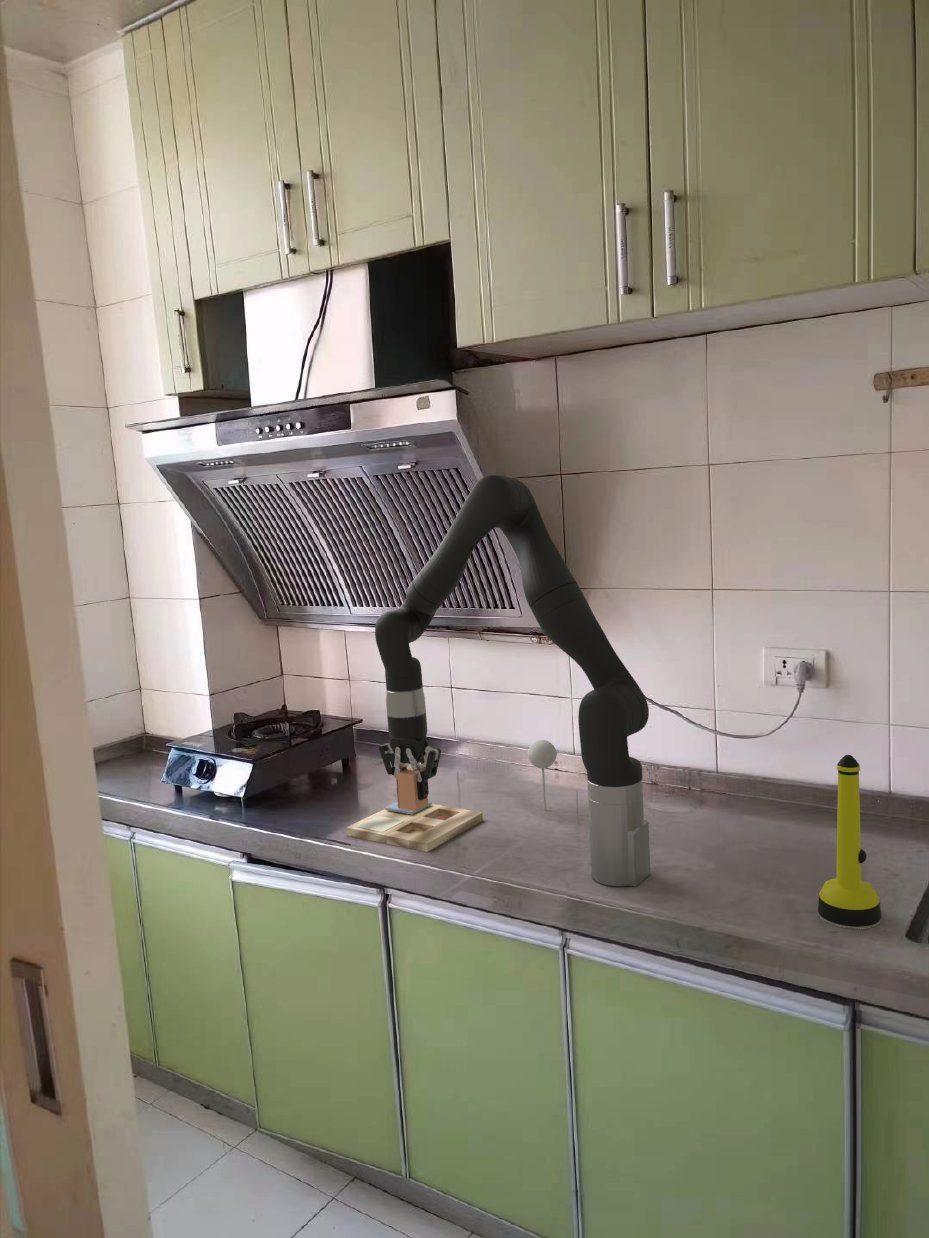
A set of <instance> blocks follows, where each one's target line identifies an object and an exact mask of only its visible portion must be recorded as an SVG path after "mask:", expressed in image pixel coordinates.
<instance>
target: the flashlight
mask: <svg viewBox="0 0 929 1238" xmlns="http://www.w3.org/2000/svg"><path fill="white" fill-rule="evenodd" d="M836 770H837V809H836V810H837V811H836V812H837V816H836V817H837V819H836V822H837V823H836V824H837V825H836V877H835V878H832V879H828V880H826V881H825V882H824V884H822V885H823V886H822V887H821V889H820V891H819V894H818V902H817V916H818V915H819V916H820V917H819V916H818V917H819V919H820V918H821V920H822V919H823V920H825V921H826V922H828V923H830V924H829V925H831V924H832V925H831V926H833V925H834V927H836V926H841V927H845V928H857V929H858V928H859V929H858V930H861V929H860V928H869V927H873V928H875V927H877V926H879V925H880V924H881V923H882V913H881V901H880V900H881V899H880V898H879V895H878V893H877V891H876V890H875V888H874V886H873V885H871V883H869V882H867V881H865V880H862V864H863V863H865V862H866V861H867V857H868V856H867V853H866V851H865V850H864V849H862V846H861V843H862V842H861V841H862V839H861V837H862V835H861V803H860V802H861V801H860V800H861V799H860V797H861V796H860V771H861V766H860V763H859V762H858V760H857V759H856V758H855V757H854V756H852V754H845V755H844V756H843V757H841V759H839V761H838V763H837V765H836ZM823 920H822V921H823ZM825 921H824V922H825ZM826 922H825V923H826ZM880 922H881V923H880ZM828 923H827V924H828ZM878 924H879V925H878ZM874 926H875V927H874ZM845 928H844V929H845ZM869 929H870V928H869Z"/></svg>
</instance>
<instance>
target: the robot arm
mask: <svg viewBox="0 0 929 1238" xmlns="http://www.w3.org/2000/svg"><path fill="white" fill-rule="evenodd" d="M495 528H498V529H500V530H501V532H502V533H503V535H504V537H506V539H507V541H508V542H509V543H508V544H510V546H511V547H512V549H513V551H514V553H515V555H516V557H517V560H518V563H519V567H520V574H521V581H522V587H523V594H524V597H525V600H526V602H527V605H528V607H529V608H530V610H531V613H532V614H533V616H534V619H535V620H536V622H537V623H538V626H539V627H540V629H541V631H542V632H543V633H544V634H545V635H546V636H547V638H548V639H549V640H550V642H552V643H553V644H554V645H555V646H556V647H558V648H559V649H560V650H561V651H562V652H563V653H565V654H566V655H567V656H568V657H570V658H571V659H572V660H573V661H575V663H576V664H577V665H578V666H579V668H581V670H582V671H583V672H584V674H585V675H586V678H587V680H588V681H589V683H590V684H591V686H592V688H593V690H591V691H589V692H587V693H586V694H585V695H584V696H583V697H582V699H581V701H580V704H579V706H578V717H577V719H578V733H579V735H578V736H579V743H580V745H579V746H580V755H581V760H582V761H581V762H582V763H583V766H584V768H585V770H586V776H587V777H586V778H587V781H586V782H587V801H588V802H587V803H588V804H587V805H588V826H589V847H590V849H589V851H590V853H589V854H590V869H591V871H590V872H591V878H592V879H593V880H594V881H595V882H597V883H599V884H602V885H604V886H605V885H606V886H612V887H627V886H629V887H637V886H638V885H639V884H641V883H642V882H643V881H644V880H645V879H647V877H648V876H650V875H651V859H650V858H651V857H650V856H651V855H650V854H651V853H650V824H649V821H648V820H645V819H644V817H645V815H644V790H643V788H644V787H643V783H644V782H643V766H642V763H641V762H640V761H639V760H638V759H637V758H635V757H632V756H630V752H629V744H628V737H630V736H632V735H634V734H636V733H638V732H640V731H641V730H643V729H644V728H645V727H646V725H647V723H648V721H649V716H650V711H649V709H650V708H649V704H648V701H647V698H646V697H645V694H644V692H643V691H642V688H641V687H640V686H639V684H638V683H637V681H636V680H635V678H634V677H633V676H632V674H631V673H630V671H629V670H628V669H627V667H626V666H625V664H624V663H623V661H622V660H621V659H620V657H619V655H618V654H617V652H616V650H615V649H614V648H613V646H612V644H611V642H610V641H609V639H608V637H607V635H606V633H605V632H604V630H603V628H602V626H601V625H600V623H599V621H598V619H597V618H596V616H595V614H594V613H593V611H592V608H591V606H590V605H589V602H588V600H587V599H586V597H585V596H584V594H583V592H582V590H581V588H580V586H579V584H578V582H577V580H576V579H575V577H574V576H573V574H572V572H571V571H570V569H569V567H568V565H567V564H566V562H565V560H564V558H563V556H562V554H561V553H560V551H559V548H557V546H556V545H555V543H554V542H553V539H552V537H551V536H550V534H549V533H550V532H548V529H547V527H546V524H545V522H544V520H543V517H542V515H541V512H540V510H539V507H538V505H537V503H536V501H535V499H534V496H533V494H532V492H531V491H530V489H529V487H528V486H527V485H526V484H525V483H524V482H522V481H520V479H517V478H514V477H509V476H504V475H499V474H490V475H485V476H484V477H482V478H480V479H479V480H477V482H476V483H475V484H474V485H473V487H472V488H471V490H470V492H469V494H468V495H467V497H466V499H465V500H464V502H463V504H462V506H461V508H460V510H459V511H458V513H457V515H456V517H455V519H454V520H453V522H452V523H451V525H450V527H449V529H448V531H447V533H446V534H445V536H444V537H443V539H442V541H440V544H439V546H438V547H436V548H437V549H435V551H434V553H433V554H432V555H431V557H430V559H428V561H427V562H426V563H425V565H424V566H423V567H422V568H421V570H420V571H419V572H418V574H417V575H416V576H415V577H414V578H413V580H412V581H411V582H410V584H409V585H408V587H407V589H406V592H405V593H406V594H405V595H406V597H405V600H404V601H403V603H402V604H401V605H400V606H399V607H398V608H395V609H391V610H388V611H385V612H383V613H382V614H380V616H379V617H378V618H377V619H376V622H375V628H374V638H375V643H376V647H377V649H378V653H379V656H380V659H381V662H382V664H383V666H384V674H385V675H384V677H385V688H386V691H385V693H386V696H385V704H386V705H385V706H386V716H387V717H386V718H387V729H388V736H389V737H390V741H389V742H387V743H383V744H382V745H379V747H378V751H379V754H380V757H381V759H382V762H383V765H384V768H385V771H386V774H387V775H388V776H393V777H394V778H395V780H396V781H395V782H396V793H397V792H398V781H397V773H399V772H401V771H404V770H406V769H408V767H409V766H410V767H411V768H412V770H413V771H414V772H415V774H416V778H417V781H418V782H417V792H418V800H424V799H426V798H427V796H429V794H430V793H429V791H430V790H429V780H430V779H431V778H434V777H436V776H437V773H438V767H439V762H440V760H441V759H440V758H441V753H442V750H441V749H440V748H439V747H436V748H433V747H431V746H430V744H429V742H428V740H427V735H428V722H427V720H428V719H427V708H426V707H427V705H426V697H425V693H424V685H423V675H422V674H423V673H422V665H421V661H420V660H419V659H418V658H417V657H414V656H413V655H412V651H411V647H410V644H411V643H413V642H416V641H417V640H418V639H419V638H421V636H422V635H423V634H424V633H425V632H426V630H427V629H428V627H429V625H430V624H431V622H432V620H433V618H434V617H435V615H436V613H437V610H439V608H441V606H442V605H443V604H444V603H445V601H447V599H448V598H449V596H450V595H451V594H452V593H453V591H454V590H455V589H456V588H457V586H458V585H459V583H460V581H461V579H462V577H463V575H464V573H465V570H466V566H467V565H468V562H469V560H470V557H471V555H472V553H473V551H474V550H475V548H476V547H477V546H478V544H479V543H480V542H481V541H482V540H483V539H484V538H485V537H486V536H487V535H489V533H490V532H492V530H493V529H495ZM418 763H419V764H418ZM421 772H422V773H421Z"/></svg>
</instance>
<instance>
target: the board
mask: <svg viewBox="0 0 929 1238" xmlns="http://www.w3.org/2000/svg"><path fill="white" fill-rule="evenodd" d="M483 816H484V815H483V812H482V811H478V810H477V811H476V810H470V809H464V808H460V807H459V808H458V807H453V806H446V805H440V804H435V803H432V805H430V806H428V807H426V808H424V809H422V810H420V811H418V812H416V813H414V814H412V815H411V814H405V813H400V812H394V811H389V810H385V808H384V809H381V810H380V811H378V812H376V813H374V814H371V815H369V816H367V817H365V818H363V819H361V820H359V821H357V822H355V823H352V824H350V825H348V826H346V827H345V829H346V836H348V837H353V838H358V839H362V840H366V841H367V840H368V841H373V842H377V843H382V844H386V845H392V846H395V847H396V846H397V847H401V848H405V849H410V850H416V851H420V852H425V853H428V852H430V851H432V850H434V849H435V848H437V847H438V846H440V845H442V844H444V843H446V842H448V841H449V840H451V839H452V838H455V837H456V836H458V835H459V834H461V833H463V832H465V831H466V830H468V829H470V828H472V827H473V826H475V825H478V824H479V823H480V822H482V821H483V820H484V817H483Z"/></svg>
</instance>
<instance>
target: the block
mask: <svg viewBox="0 0 929 1238" xmlns="http://www.w3.org/2000/svg"><path fill="white" fill-rule="evenodd" d="M421 773H422V772H421ZM397 781H398V794H399V806H400V809H406V810H413V811H417V810H419V809H421V808H423V807H425V806H427V805H428V801H429V797H428V796H429V795H428V796H427V798H426V799H424V800H418V792H417V782H418V781H417V778H416V774H415V772H414V771H413V770H412V767H411V768H410V767H409V768H408V767H407V769H406V770H404V771H401V772H399V773H397ZM397 781H396V782H397Z"/></svg>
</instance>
